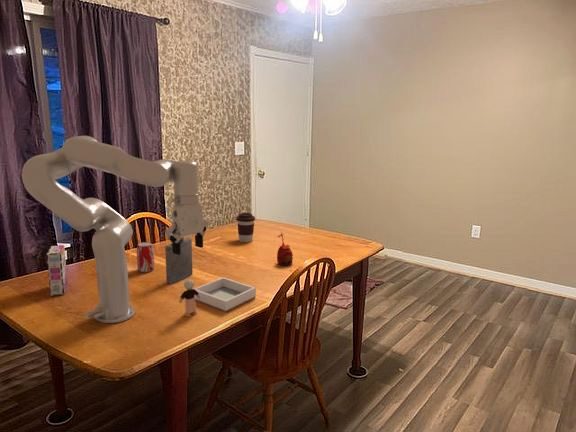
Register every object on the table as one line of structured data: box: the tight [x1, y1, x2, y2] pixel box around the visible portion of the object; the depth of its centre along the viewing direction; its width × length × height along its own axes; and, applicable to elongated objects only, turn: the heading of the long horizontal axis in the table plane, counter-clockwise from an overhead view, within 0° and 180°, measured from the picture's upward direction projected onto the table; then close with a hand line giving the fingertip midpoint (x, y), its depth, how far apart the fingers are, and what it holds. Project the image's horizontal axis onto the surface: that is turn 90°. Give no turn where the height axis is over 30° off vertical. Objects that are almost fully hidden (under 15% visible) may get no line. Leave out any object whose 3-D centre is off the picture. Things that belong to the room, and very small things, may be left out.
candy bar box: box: [46, 244, 68, 297], centre depth 164 cm, size 11×5×16 cm, turn 21°
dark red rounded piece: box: [276, 231, 294, 266], centre depth 200 cm, size 8×7×15 cm
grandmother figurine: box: [178, 278, 200, 318], centre depth 147 cm, size 8×4×13 cm, turn 141°
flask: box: [164, 236, 194, 285], centre depth 178 cm, size 4×14×18 cm, turn 152°
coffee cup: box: [236, 212, 256, 243], centre depth 235 cm, size 10×10×15 cm
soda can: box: [136, 241, 155, 273], centre depth 187 cm, size 7×7×12 cm
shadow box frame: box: [194, 276, 257, 313], centre depth 162 cm, size 16×17×4 cm
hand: (188, 250), depth 144 cm, fingers open, 9 cm apart
